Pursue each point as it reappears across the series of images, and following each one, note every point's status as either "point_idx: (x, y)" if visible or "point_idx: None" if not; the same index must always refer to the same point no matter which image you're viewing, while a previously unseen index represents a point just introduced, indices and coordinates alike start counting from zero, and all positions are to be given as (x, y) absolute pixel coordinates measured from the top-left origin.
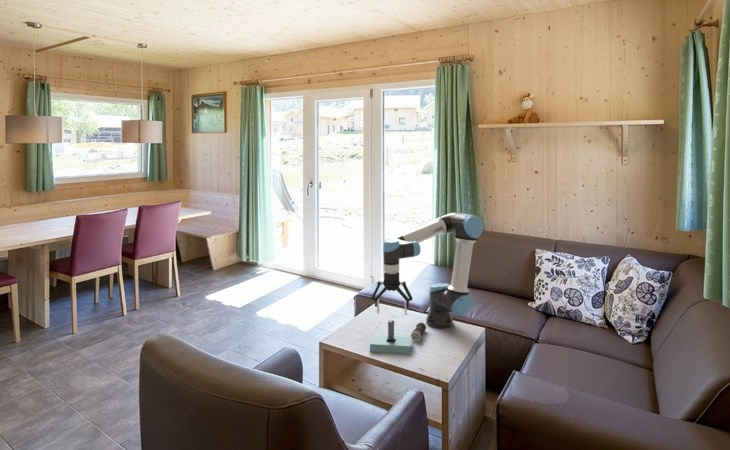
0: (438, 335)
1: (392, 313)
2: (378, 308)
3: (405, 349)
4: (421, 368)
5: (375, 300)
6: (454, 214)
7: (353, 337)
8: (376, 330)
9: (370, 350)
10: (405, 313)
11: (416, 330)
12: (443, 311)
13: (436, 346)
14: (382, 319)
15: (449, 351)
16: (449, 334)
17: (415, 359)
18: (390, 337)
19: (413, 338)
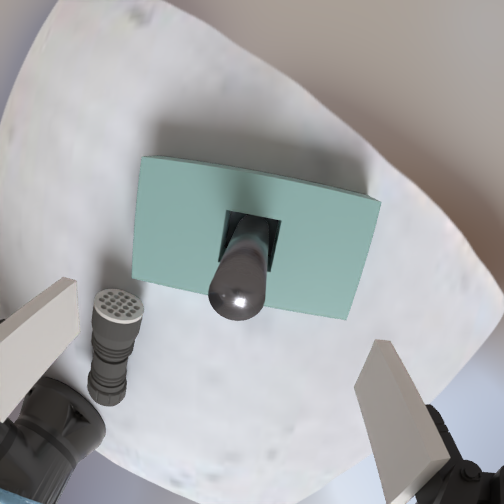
0: None
1: (220, 491)
2: (396, 381)
3: (177, 159)
4: (137, 21)
5: (469, 464)
6: None
7: (408, 350)
8: (297, 407)
9: (367, 195)
10: (62, 284)
11: (106, 331)
12: (24, 421)
13: (53, 235)
14: (258, 470)
15: (18, 187)
16: None
17: (145, 98)
18: (253, 231)
19: (133, 303)
